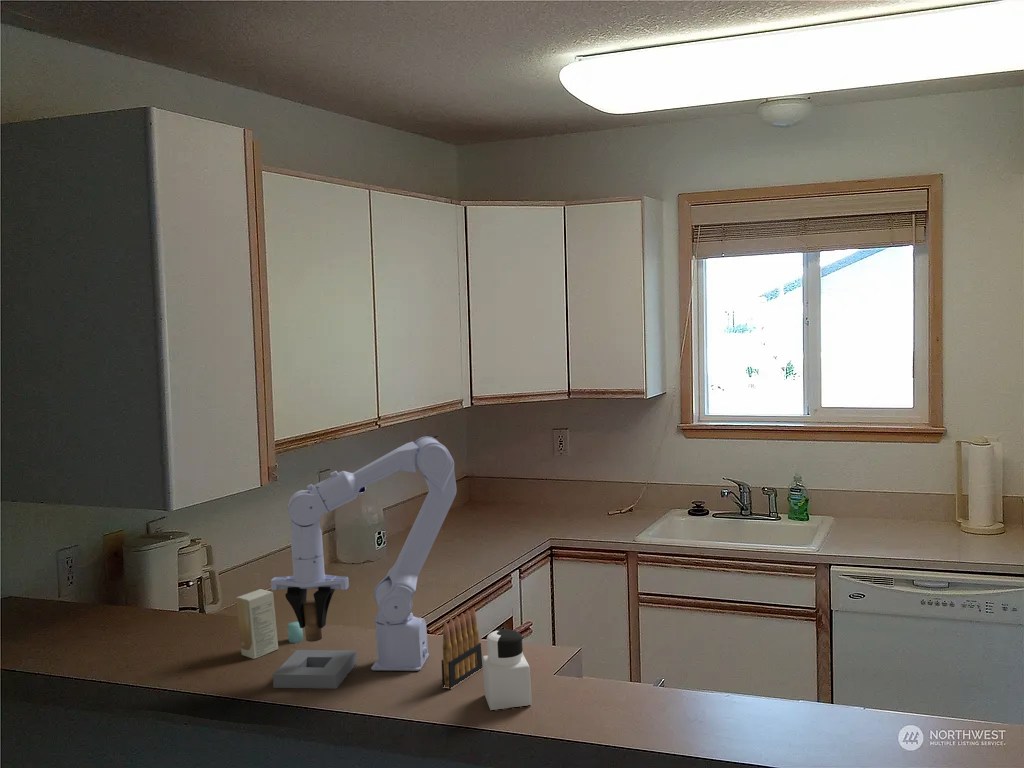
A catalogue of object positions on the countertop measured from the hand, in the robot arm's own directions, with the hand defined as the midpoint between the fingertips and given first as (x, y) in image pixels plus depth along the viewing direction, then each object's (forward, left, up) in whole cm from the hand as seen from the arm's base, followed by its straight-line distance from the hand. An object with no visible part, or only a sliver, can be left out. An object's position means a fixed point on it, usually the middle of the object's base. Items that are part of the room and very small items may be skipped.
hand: (312, 626), depth 179 cm
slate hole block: (0, 0, -9) cm, 9 cm away
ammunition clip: (-28, +1, -10) cm, 30 cm away
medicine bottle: (-38, +10, -10) cm, 41 cm away
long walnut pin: (0, 0, -2) cm, 2 cm away
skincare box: (+16, -11, -10) cm, 22 cm away
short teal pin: (+11, -18, -9) cm, 23 cm away
